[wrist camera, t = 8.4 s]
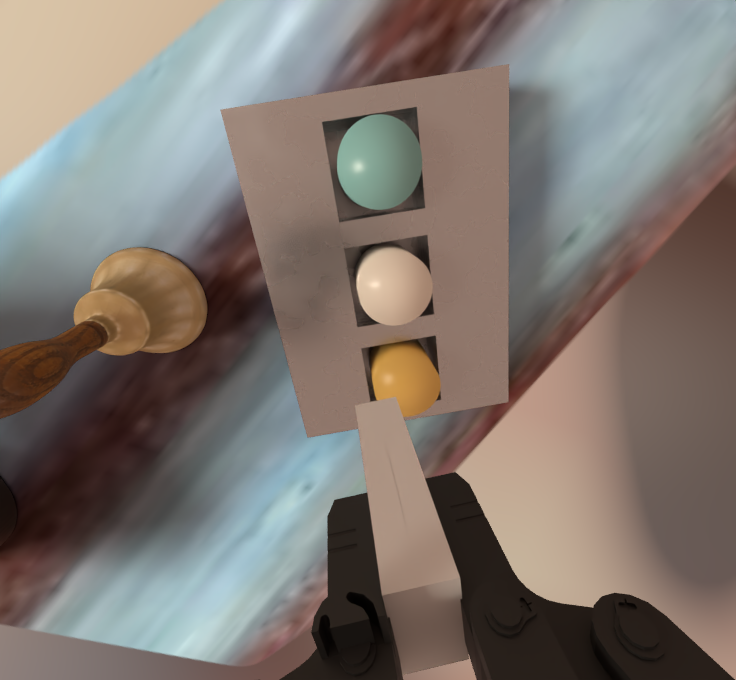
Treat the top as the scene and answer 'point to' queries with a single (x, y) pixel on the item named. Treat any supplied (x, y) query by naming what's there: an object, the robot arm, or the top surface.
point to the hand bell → (110, 323)
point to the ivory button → (392, 284)
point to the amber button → (404, 376)
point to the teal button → (379, 162)
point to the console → (383, 237)
